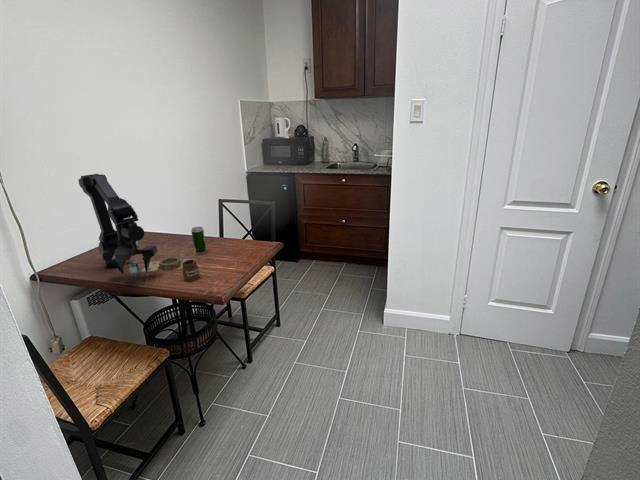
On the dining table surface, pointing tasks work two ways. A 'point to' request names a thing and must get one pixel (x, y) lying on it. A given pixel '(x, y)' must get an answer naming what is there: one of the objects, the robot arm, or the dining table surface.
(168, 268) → the octagon ring with plates
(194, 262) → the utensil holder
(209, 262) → the dining table surface
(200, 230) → the beer can
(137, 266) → the steel pin
